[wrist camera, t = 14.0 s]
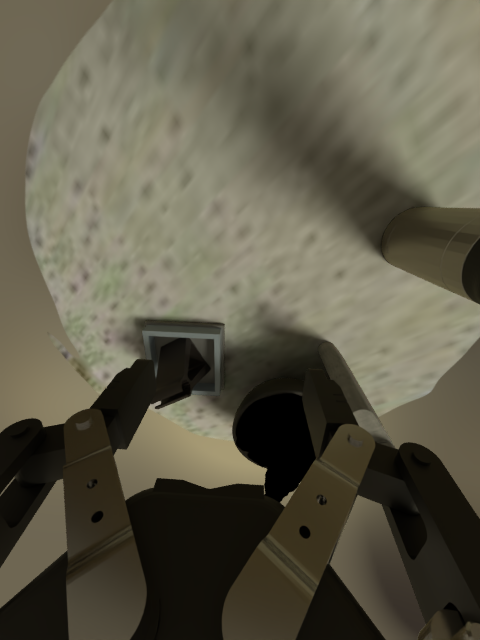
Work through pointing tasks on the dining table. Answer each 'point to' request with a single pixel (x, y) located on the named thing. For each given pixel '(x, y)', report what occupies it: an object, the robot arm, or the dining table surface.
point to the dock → (203, 337)
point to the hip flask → (353, 393)
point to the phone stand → (178, 371)
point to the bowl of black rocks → (276, 434)
